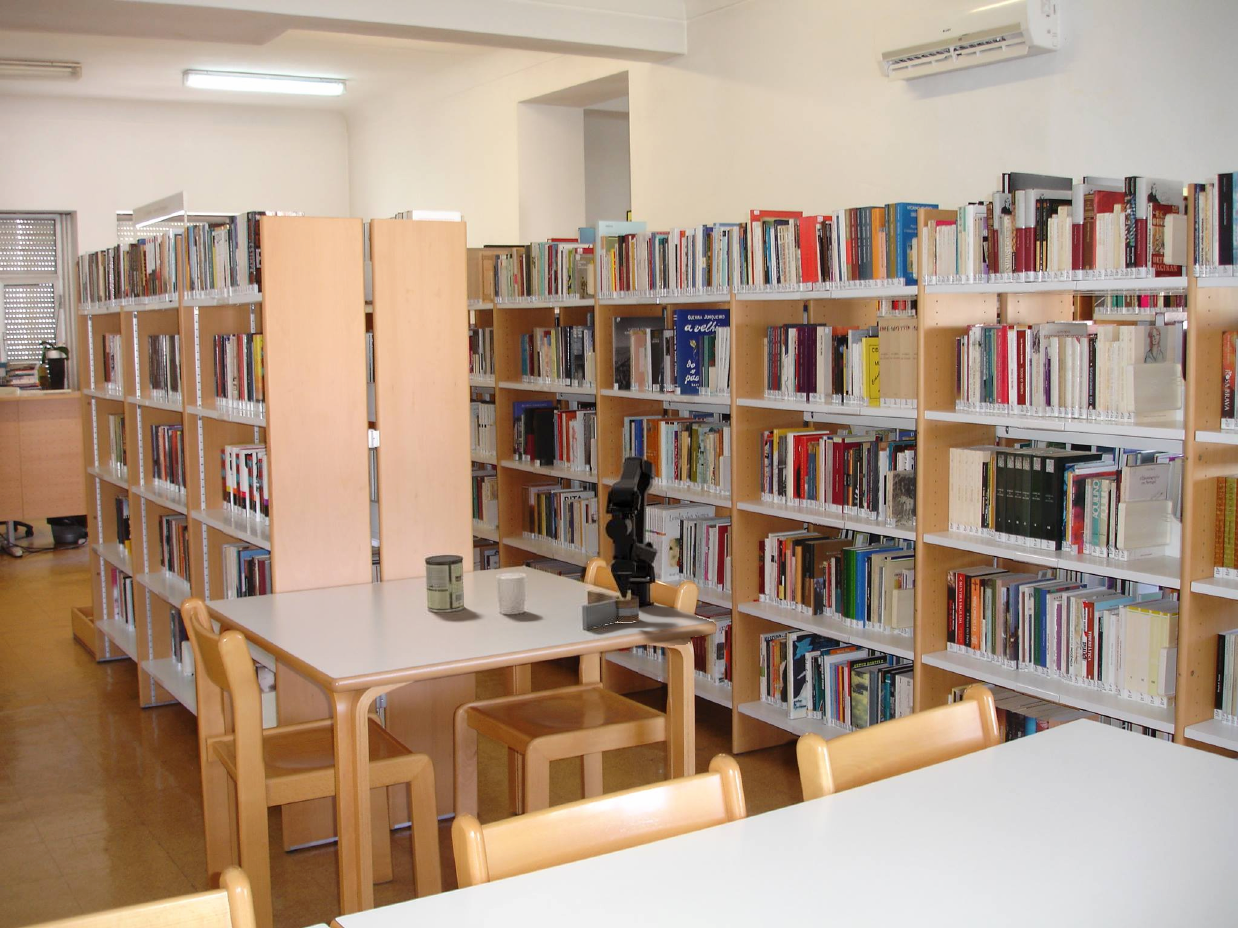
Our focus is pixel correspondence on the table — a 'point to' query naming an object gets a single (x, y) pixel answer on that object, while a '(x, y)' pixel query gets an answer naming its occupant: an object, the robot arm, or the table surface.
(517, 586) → the white cup
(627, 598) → the brass pin
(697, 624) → the table surface
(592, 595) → the tan hinge leaf
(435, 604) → the coffee can
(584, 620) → the slate leaf
